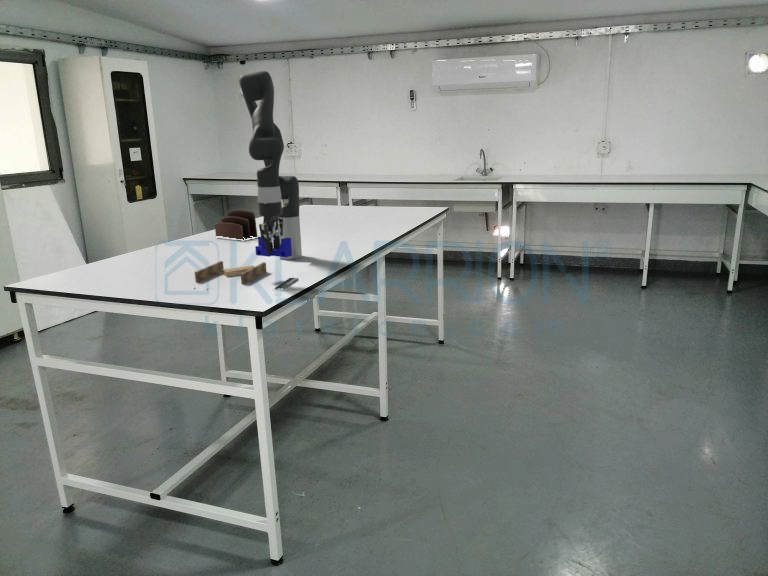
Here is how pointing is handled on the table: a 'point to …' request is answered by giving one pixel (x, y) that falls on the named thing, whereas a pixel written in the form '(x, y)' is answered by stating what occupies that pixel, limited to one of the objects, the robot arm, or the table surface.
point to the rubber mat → (287, 283)
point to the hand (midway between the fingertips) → (273, 251)
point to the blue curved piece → (283, 250)
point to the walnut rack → (218, 267)
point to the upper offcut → (236, 270)
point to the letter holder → (237, 225)
